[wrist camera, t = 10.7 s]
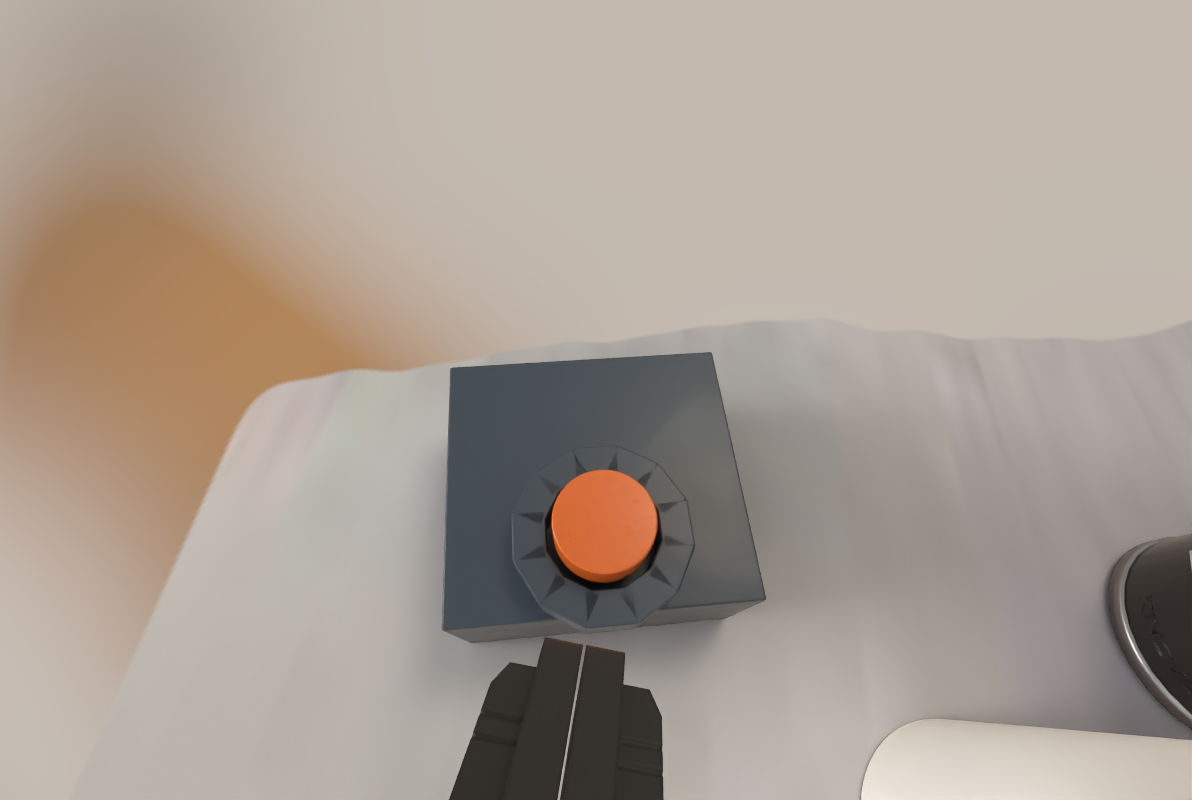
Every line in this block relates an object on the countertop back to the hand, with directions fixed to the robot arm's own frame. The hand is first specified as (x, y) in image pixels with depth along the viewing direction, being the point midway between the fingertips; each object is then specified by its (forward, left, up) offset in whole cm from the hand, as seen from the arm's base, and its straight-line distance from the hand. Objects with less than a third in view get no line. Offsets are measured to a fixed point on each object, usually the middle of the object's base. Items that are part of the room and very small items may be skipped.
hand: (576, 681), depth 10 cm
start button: (-1, -5, -9) cm, 10 cm away
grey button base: (-1, -8, -16) cm, 18 cm away
